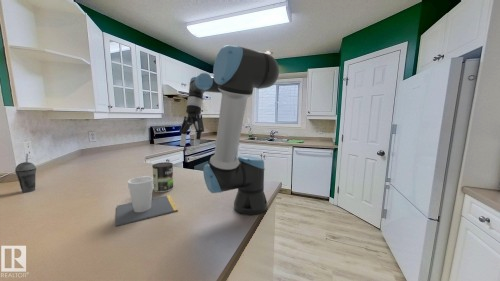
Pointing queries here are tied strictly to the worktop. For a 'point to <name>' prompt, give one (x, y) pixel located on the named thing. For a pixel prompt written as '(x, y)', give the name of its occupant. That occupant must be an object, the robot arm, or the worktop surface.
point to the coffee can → (163, 177)
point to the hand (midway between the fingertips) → (189, 146)
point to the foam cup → (141, 192)
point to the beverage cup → (26, 176)
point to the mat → (157, 208)
